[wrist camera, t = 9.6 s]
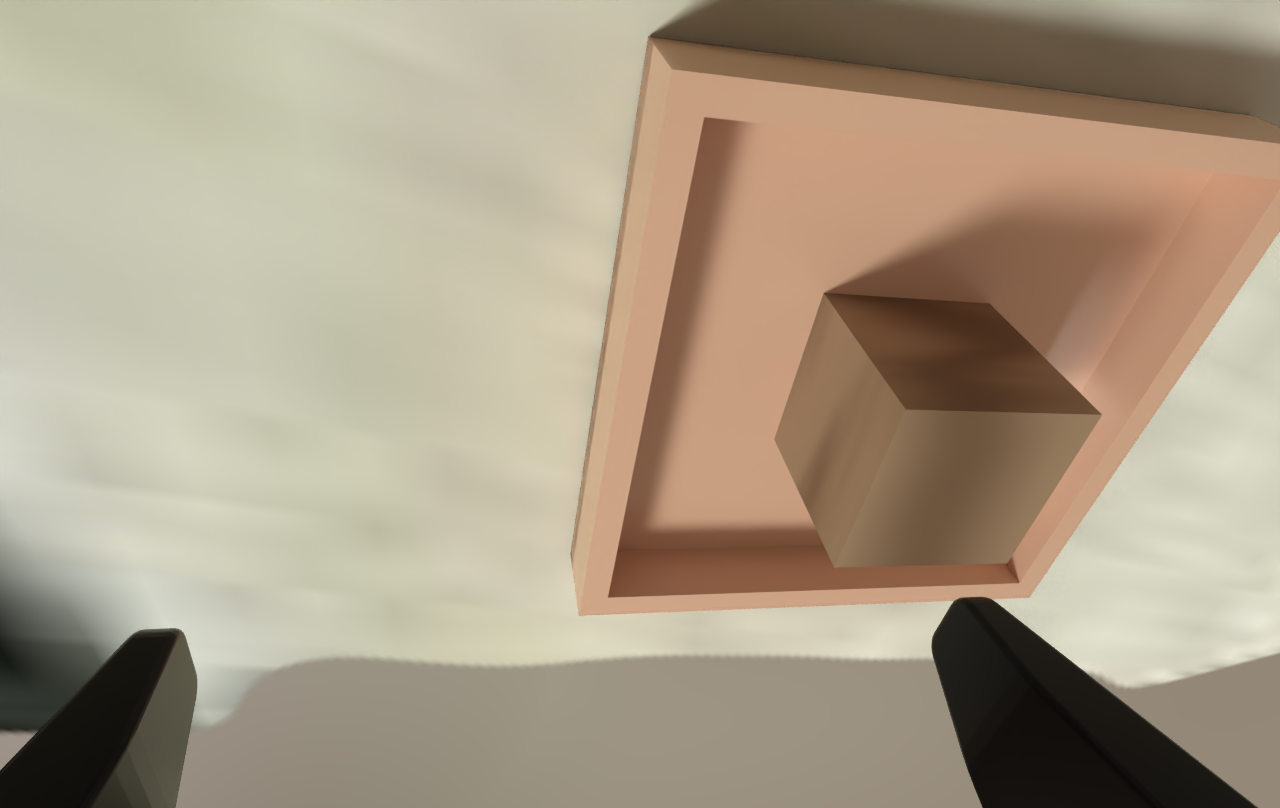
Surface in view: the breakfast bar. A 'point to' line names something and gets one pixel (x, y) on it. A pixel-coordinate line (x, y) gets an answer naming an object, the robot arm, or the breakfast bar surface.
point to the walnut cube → (925, 431)
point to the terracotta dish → (888, 267)
